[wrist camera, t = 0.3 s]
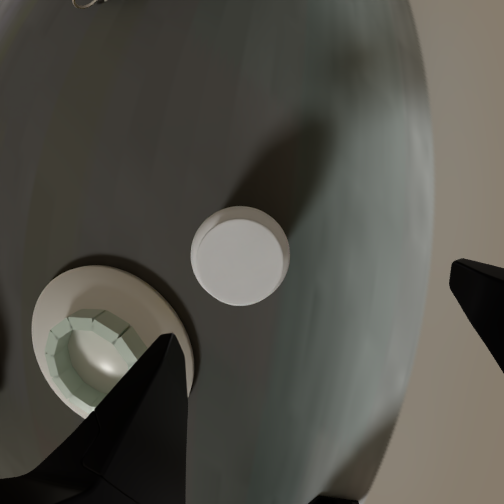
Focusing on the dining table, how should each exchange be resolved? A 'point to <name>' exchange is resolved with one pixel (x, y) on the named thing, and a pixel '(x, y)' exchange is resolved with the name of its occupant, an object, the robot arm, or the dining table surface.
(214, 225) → the supplement bottle
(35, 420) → the dining table surface
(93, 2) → the chinaware
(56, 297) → the carrier socket
